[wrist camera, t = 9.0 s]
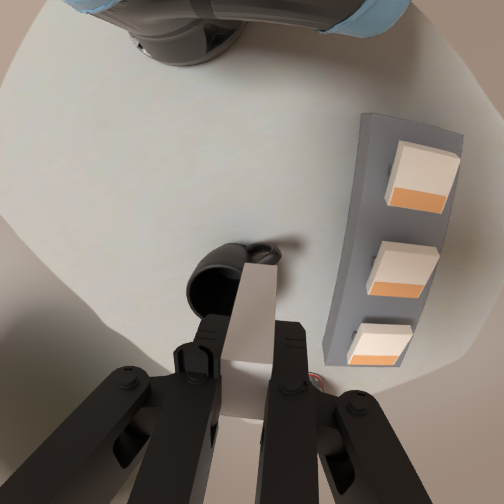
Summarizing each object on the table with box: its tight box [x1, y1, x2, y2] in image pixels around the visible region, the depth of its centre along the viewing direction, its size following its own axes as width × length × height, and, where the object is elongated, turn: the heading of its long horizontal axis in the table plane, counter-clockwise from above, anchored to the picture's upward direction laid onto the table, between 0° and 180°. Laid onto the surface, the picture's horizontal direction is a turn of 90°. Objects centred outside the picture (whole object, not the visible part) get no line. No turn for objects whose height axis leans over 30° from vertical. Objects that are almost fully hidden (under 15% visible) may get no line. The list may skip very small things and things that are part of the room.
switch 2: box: [366, 241, 440, 298], centre depth 35 cm, size 7×7×2 cm
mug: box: [186, 243, 282, 319], centre depth 39 cm, size 8×12×10 cm
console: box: [322, 113, 464, 367], centre depth 39 cm, size 34×12×6 cm, turn 176°
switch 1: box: [384, 140, 461, 214], centre depth 31 cm, size 7×7×2 cm
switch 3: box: [347, 323, 413, 365], centre depth 39 cm, size 7×7×2 cm
